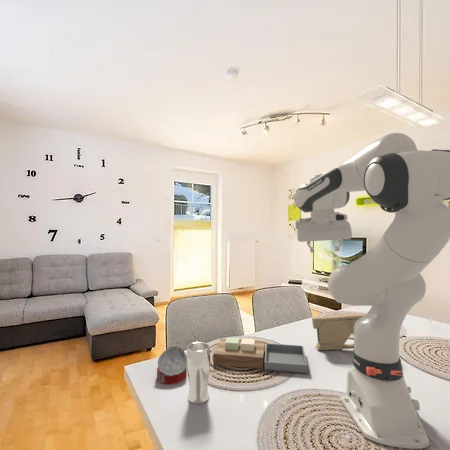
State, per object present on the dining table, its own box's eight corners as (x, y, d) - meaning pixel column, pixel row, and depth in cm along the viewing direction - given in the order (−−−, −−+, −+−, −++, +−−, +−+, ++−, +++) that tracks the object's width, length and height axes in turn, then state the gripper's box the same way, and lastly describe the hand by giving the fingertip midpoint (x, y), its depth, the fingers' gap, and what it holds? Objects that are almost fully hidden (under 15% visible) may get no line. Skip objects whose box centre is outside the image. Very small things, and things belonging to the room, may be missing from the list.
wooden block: (263, 369, 98) (263, 357, 98) (213, 364, 101) (213, 353, 101) (264, 351, 112) (264, 341, 112) (220, 348, 115) (220, 338, 115)
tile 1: (238, 350, 104) (238, 343, 104) (224, 349, 105) (224, 342, 105) (239, 344, 109) (239, 338, 109) (227, 343, 110) (227, 337, 110)
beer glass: (188, 407, 77) (188, 352, 77) (185, 392, 84) (185, 343, 84) (212, 402, 79) (212, 349, 79) (207, 389, 86) (207, 340, 86)
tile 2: (254, 351, 103) (254, 344, 103) (240, 350, 104) (240, 343, 104) (255, 345, 108) (255, 339, 108) (242, 344, 109) (242, 338, 109)
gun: (376, 349, 113) (372, 312, 114) (380, 353, 110) (376, 315, 110) (315, 352, 116) (311, 316, 116) (317, 356, 112) (313, 318, 113)
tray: (307, 374, 94) (307, 365, 94) (264, 370, 97) (264, 361, 97) (302, 353, 110) (302, 345, 110) (266, 350, 113) (265, 343, 113)
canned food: (186, 385, 96) (199, 362, 95) (167, 398, 87) (181, 372, 86) (164, 363, 101) (176, 340, 100) (144, 373, 92) (157, 348, 91)
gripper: (295, 219, 108) (297, 254, 109) (351, 215, 103) (353, 252, 104) (295, 218, 114) (297, 251, 115) (348, 214, 109) (350, 248, 110)
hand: (324, 251), depth 110 cm, fingers open, 8 cm apart
